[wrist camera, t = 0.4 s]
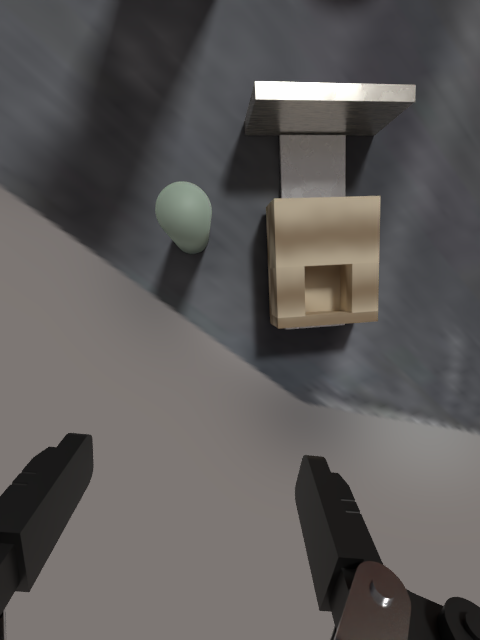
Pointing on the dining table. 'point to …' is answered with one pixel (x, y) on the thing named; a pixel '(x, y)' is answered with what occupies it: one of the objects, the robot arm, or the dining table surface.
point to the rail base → (320, 129)
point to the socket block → (323, 260)
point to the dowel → (185, 216)
